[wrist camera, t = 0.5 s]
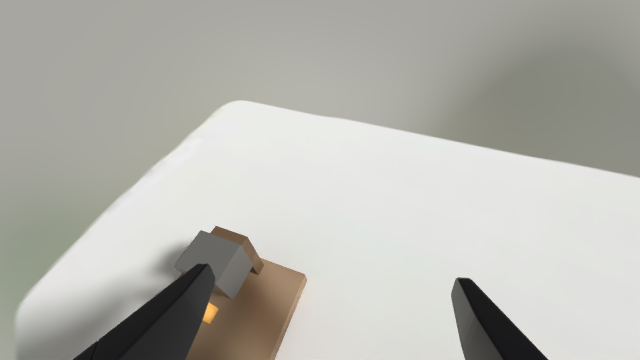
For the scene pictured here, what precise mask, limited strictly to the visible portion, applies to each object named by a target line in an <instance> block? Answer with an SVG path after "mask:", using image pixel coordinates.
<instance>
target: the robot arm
mask: <svg viewBox="0 0 640 360" xmlns="http://www.w3.org/2000/svg"><path fill="white" fill-rule="evenodd" d="M215 280H216V278H215V275H214V272H213V270H212V268H211V266H210V264H208V263H198V264H196V265H195V266H194V267H192V268H191V269H190V270H188V271H187V272H186V273H184V274H183V275H182V276H181V277H179V278H178V279H177V280H175V281H174V282H173V283H172V284H170V285H169V286H168V287H166V288H165V289H164V290H162V291H161V292H160V293H159V294H157V295H156V296H155V297H153V298H152V299H151V300H150V301H148V302H147V303H146V304H144V305H143V306H142V307H140V308H139V309H138V310H137V311H135V312H134V313H133V314H131V315H130V316H129V317H128V318H126V319H125V320H124V321H122V322H121V323H120V324H118V325H117V326H116V327H115V328H113V329H112V330H111V331H109V332H108V333H107V334H106V335H104V336H103V337H102V338H100V339H99V341H96V342H95V343H94V344H92V345H91V346H90V347H89V348H87V349H86V350H85V351H83V352H82V353H81V354H79V355H78V356H77V357H75V358H74V359H73V360H186V357H187V355H188V353H189V351H190V348H191V346H192V344H193V341H194V339H195V337H196V335H197V332H198V330H199V328H200V325H201V323H202V320H203V318H204V315H205V312H206V309H207V306H208V303H209V300H210V297H211V294H212V291H213V288H214V285H215ZM451 297H452V303H453V308H454V313H455V318H456V323H457V328H458V333H459V337H460V342H461V346H462V350H463V353H464V357H465V360H548V359H547V358H546V357H545V356H544V355H543V354H542V353H541V352H540V351H539V350H538V348H537V347H536V346H535V345H534V344H533V343H532V342H531V341H530V340H529V339H528V338H527V337H526V336H525V335H524V334H523V333H522V332H521V331H520V330H519V329H518V328H517V327H516V326H515V324H514V323H513V322H512V321H511V320H510V319H509V318H508V317H507V316H506V315H505V314H504V313H503V312H502V311H501V310H500V309H499V308H498V307H497V306H496V305H495V304H494V303H493V302H492V300H491V299H490V298H489V297H488V296H487V295H486V294H485V293H484V292H483V291H482V290H481V289H480V288H479V287H478V286H477V285H476V284H475V283H474V282H473V281H472V280H471V279H469V278H460V277H458V278H456V280H455V283H454V286H453V289H452V293H451Z"/></svg>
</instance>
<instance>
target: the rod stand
mask: <svg viewBox="0 0 640 360" xmlns="http://www.w3.org/2000/svg"><path fill="white" fill-rule="evenodd" d="M198 263H208V264H210V266H211V268H212V270H213V272H214V275H215V278H216V280H215V285H214V288H213V291H212V294H211V297H210V300H209V303H208V306H207V309H206V312H205V315H204V318H203V320H202V323H201V325H200V328H199V330H198V332H197V335H196V337H195V339H194V341H193V344H192V346H191V348H190V351H189V353H188V355H187V357H186V360H274V359H275V357H276V354H277V352H278V350H279V347H280V345H281V342H282V340H283V337H284V335H285V332H286V330H287V328H288V325H289V323H290V320H291V318H292V315H293V313H294V311H295V308H296V306H297V303H298V301H299V298H300V296H301V293H302V291H303V289H304V286H305V284H306V281H307V279H306V276H305V274H302V273H300V272H297V271H294V270H291V269H289V268H286V267H283V266H281V265H278V264H275V263H272V262H270V261H267V260H264V259H262V258H259V256H258V254H257V252H256V251H255V249H254V247H253V246H252V244H251V242H250V241H249V239H248V237H246V236H243V235H241V234H238V233H235V232H232V231H229V230H226V229H223V228H220V227H218V226H215V228H214V229H213V231H212V232H211V233H207V232H204V231H202V230H201V231H200V232H199V233H198V235H197V236H196V237H195V239H194V240H193V241H192V243H191V244H190V245H189V247H188V248H187V249H186V250H185V252H184V253H183V254H182V256H181V257H180V258H179V260H178V261H177V262H176V264H175V265H174V267H175V268H176V269H178V270H179V271H180V272H181V273H182V274H181V276H182V275H183V274H184V273H186V272H187V271H188V270H190V269H191V268H192V267H194V266H195V265H196V264H198ZM181 276H180V277H181Z"/></svg>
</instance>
